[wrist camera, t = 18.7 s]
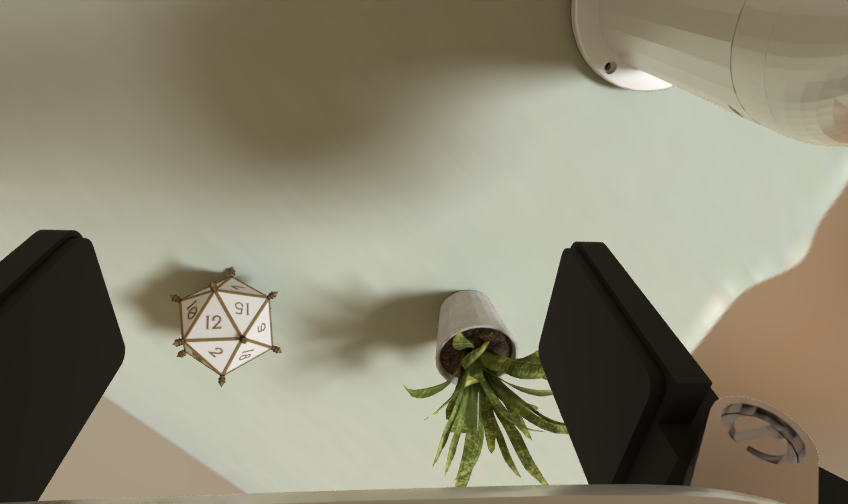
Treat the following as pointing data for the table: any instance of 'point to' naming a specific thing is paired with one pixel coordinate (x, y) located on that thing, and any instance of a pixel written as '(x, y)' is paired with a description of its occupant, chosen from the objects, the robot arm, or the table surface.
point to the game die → (225, 325)
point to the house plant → (484, 384)
